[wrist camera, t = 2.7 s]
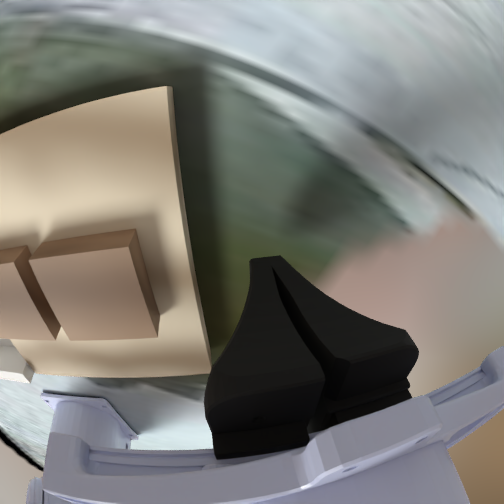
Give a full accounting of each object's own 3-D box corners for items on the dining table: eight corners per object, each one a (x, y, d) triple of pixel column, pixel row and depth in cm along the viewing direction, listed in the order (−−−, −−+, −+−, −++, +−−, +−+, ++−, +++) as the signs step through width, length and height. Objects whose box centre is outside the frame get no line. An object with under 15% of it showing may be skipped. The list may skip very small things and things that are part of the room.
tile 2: (63, 321, 13) (55, 340, 12) (7, 321, 13) (-2, 338, 12) (27, 244, 11) (13, 262, 9) (-28, 255, 10) (-41, 270, 9)
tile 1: (160, 315, 14) (157, 337, 13) (77, 320, 13) (70, 340, 12) (135, 228, 11) (128, 246, 10) (42, 242, 11) (28, 259, 10)
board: (210, 349, 19) (212, 373, 17) (42, 354, 17) (35, 373, 16) (172, 86, 10) (166, 85, 9) (-45, 158, 9) (-65, 170, 7)
